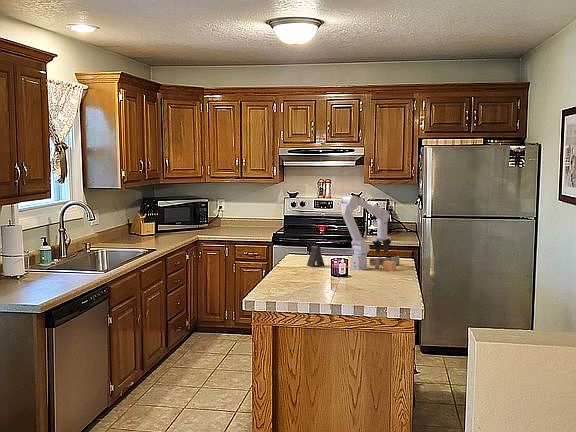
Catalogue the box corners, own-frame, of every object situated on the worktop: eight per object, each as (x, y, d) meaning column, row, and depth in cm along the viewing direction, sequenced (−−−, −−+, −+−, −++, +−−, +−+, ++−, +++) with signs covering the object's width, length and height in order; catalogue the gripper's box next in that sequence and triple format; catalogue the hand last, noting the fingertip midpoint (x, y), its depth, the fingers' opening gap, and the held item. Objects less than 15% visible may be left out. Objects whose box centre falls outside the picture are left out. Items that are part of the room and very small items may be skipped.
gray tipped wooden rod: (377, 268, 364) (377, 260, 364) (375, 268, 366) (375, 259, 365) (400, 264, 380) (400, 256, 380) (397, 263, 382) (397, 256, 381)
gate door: (369, 265, 374) (370, 258, 373) (369, 265, 375) (369, 258, 374) (392, 265, 375) (392, 258, 375) (391, 264, 376) (391, 257, 376)
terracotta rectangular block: (391, 271, 356) (391, 262, 355) (383, 269, 360) (383, 261, 360) (395, 270, 358) (396, 261, 358) (387, 269, 363) (387, 260, 362)
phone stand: (312, 267, 367) (312, 247, 366) (306, 266, 372) (306, 246, 372) (324, 266, 372) (324, 246, 371) (319, 264, 377) (319, 245, 376)
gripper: (380, 231, 362) (380, 254, 363) (395, 229, 372) (394, 252, 373) (370, 230, 367) (370, 253, 368) (385, 228, 377) (384, 250, 378)
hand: (381, 252), depth 371 cm, fingers open, 7 cm apart
